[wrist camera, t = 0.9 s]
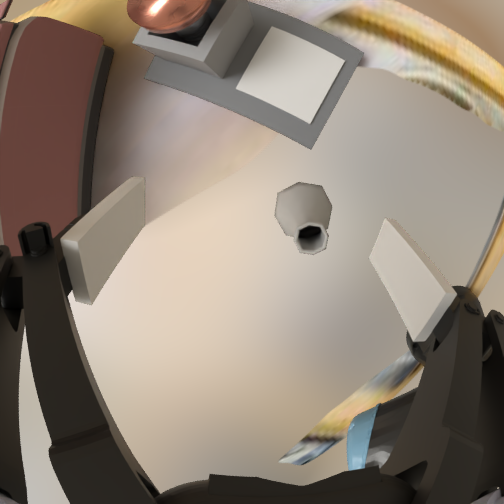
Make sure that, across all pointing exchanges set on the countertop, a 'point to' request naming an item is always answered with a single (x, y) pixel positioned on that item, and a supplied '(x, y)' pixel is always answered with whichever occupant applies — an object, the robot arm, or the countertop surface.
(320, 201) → the flask
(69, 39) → the toaster
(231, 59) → the press
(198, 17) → the copper ovoid
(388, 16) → the countertop surface
